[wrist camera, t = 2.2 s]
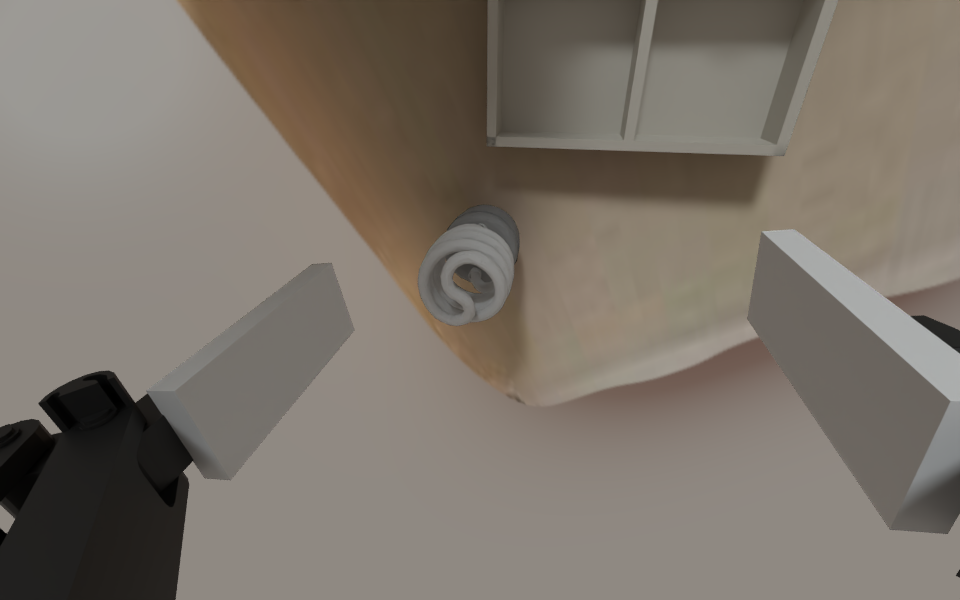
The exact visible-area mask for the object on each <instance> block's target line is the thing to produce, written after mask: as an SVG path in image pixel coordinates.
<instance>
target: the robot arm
mask: <svg viewBox="0 0 960 600" xmlns="http://www.w3.org/2000/svg"><path fill="white" fill-rule="evenodd" d="M747 319H748V321H749V322H750V324H751V325H752V327H753V328H754V330H755V331H756V333H757V334H758V336H759V337H760V339H761V340H762V342H763V343H764V344H765V346H766V347H767V349H768V350H769V352H770V353H771V355H772V356H773V358H774V359H775V361H776V362H777V364H778V365H779V367H780V368H781V369H782V371H783V373H784V374H785V375H786V377H787V378H788V380H789V381H790V383H791V384H792V386H793V387H794V389H795V390H796V392H797V393H798V395H799V396H800V398H801V399H802V401H803V402H804V403H805V405H806V406H807V408H808V409H809V411H810V412H811V414H812V415H813V417H814V418H815V420H816V421H817V423H818V424H819V425H820V427H821V429H822V430H823V432H824V433H825V435H826V436H827V437H828V439H829V440H830V442H831V443H832V445H833V446H834V448H835V449H836V451H837V452H838V454H839V455H840V457H841V458H842V460H843V461H844V463H845V464H846V465H847V467H848V468H849V470H850V471H851V473H852V474H853V476H854V477H855V478H856V480H857V482H858V483H859V485H860V486H861V488H862V489H863V491H864V492H865V493H866V495H867V496H868V498H869V499H870V501H871V502H872V504H873V505H874V507H875V508H876V510H877V511H878V512H879V514H880V516H881V517H882V518H883V520H884V522H885V523H886V525H887V526H888V527H889V529H890V530H904V531H916V532H930V533H943V534H948V532H949V531H950V529H951V527H952V526H953V524H954V522H955V520H956V519H957V517H958V515H959V514H960V331H959V330H958V329H955V328H953V327H950V326H948V325H946V324H943V323H940V322H938V321H936V320H934V319H931V318H929V317H926V316H909V315H908V314H906V313H905V312H904V311H902V310H901V309H899V308H898V307H897V306H896V305H894V304H893V303H892V302H890V301H889V300H888V299H886V298H885V297H884V296H882V295H881V294H880V293H878V292H877V291H876V290H874V289H873V288H872V287H870V286H869V285H868V284H866V283H865V282H864V281H862V280H861V279H860V278H858V277H857V276H856V275H854V274H853V273H852V272H850V271H849V270H848V269H846V268H845V267H844V266H842V265H841V264H840V263H838V262H837V261H836V260H835V259H833V258H832V257H831V256H829V255H828V254H827V253H825V252H824V251H823V250H821V249H820V248H819V247H817V246H816V245H815V244H813V243H812V242H811V241H809V240H808V239H807V238H805V237H804V236H803V235H801V234H800V233H799V232H797V231H796V230H795V229H790V230H776V231H763V232H761V238H760V244H759V250H758V256H757V262H756V268H755V274H754V281H753V287H752V293H751V299H750V305H749V311H748V317H747ZM353 331H354V327H353V324H352V322H351V319H350V316H349V313H348V310H347V307H346V304H345V301H344V298H343V295H342V292H341V290H340V287H339V284H338V281H337V278H336V275H335V272H334V269H333V266H332V264H331V263H323V264H312V265H310V266H309V267H308V268H307V269H305V270H304V271H303V272H301V273H300V274H299V275H297V276H296V277H295V278H293V279H292V280H291V281H289V282H288V283H287V284H285V285H284V286H283V287H282V288H280V289H279V290H278V291H276V292H275V293H274V294H272V295H271V296H270V297H269V298H267V299H266V300H265V301H263V302H262V303H261V304H259V305H258V306H257V307H256V308H254V309H253V310H252V311H250V312H249V313H248V314H246V315H245V316H244V317H242V318H241V319H240V320H238V321H237V322H236V323H235V324H233V325H232V326H230V327H229V328H228V329H227V330H225V331H224V332H223V333H221V334H220V335H219V336H218V337H216V338H215V339H213V340H212V341H211V342H210V343H208V344H207V345H206V346H204V347H203V348H202V349H200V350H199V351H198V352H197V353H195V354H194V355H193V356H191V357H190V358H189V359H187V360H186V361H185V362H183V363H182V364H181V365H180V366H178V367H177V368H176V369H174V370H173V371H172V372H170V373H169V374H168V375H166V376H165V377H164V378H162V379H161V380H160V381H158V382H157V383H156V384H155V385H153V386H152V387H151V388H149V389H148V390H147V393H148V394H146V395H145V396H144V397H143V398H141V399H140V400H139V401H137V402H136V403H135V402H134V401H133V399H132V398H131V396H130V395H129V394H128V392H127V391H126V389H125V388H124V386H123V385H122V383H121V382H120V381H119V379H118V378H117V376H116V375H115V374H114V372H111V371H99V372H95V373H91V374H88V375H85V376H82V377H80V378H77V379H75V380H72V381H70V382H68V383H66V384H65V385H63V386H60V387H59V388H57V389H56V390H54V391H52V392H51V393H49V394H48V395H47V396H45V397H44V398H43V399H42V400H41V401H40V402H39V405H40V406H41V407H42V409H43V410H44V411H45V412H46V413H47V415H48V416H49V417H50V418H51V419H52V420H53V422H54V423H55V424H56V425H57V427H59V429H60V430H61V431H62V433H57V434H53V435H51V434H50V433H49V432H48V431H47V430H46V428H45V427H44V426H43V425H42V424H41V423H40V421H39V420H34V419H30V420H24V421H20V422H17V423H14V424H11V425H10V424H8V425H5V426H2V427H0V505H1V506H2V507H3V508H4V509H6V510H7V511H8V512H9V513H10V514H11V515H12V516H13V517H14V518H15V521H14V523H13V524H12V526H11V528H10V530H9V532H8V534H7V533H5V532H4V531H3V530H2V529H0V600H175V599H176V591H177V582H178V574H179V565H180V557H181V548H182V540H183V532H184V531H183V530H184V523H185V514H186V505H187V498H188V489H189V482H188V478H187V477H186V475H185V474H184V472H183V471H184V470H185V469H186V468H187V467H188V465H190V463H191V462H192V461H193V462H194V463H195V465H196V466H197V468H198V469H199V470H200V472H201V474H202V475H203V477H204V478H207V479H220V480H231V479H232V478H233V477H234V475H235V474H236V473H237V472H238V471H239V469H240V468H241V467H242V466H243V465H244V463H245V462H246V461H247V460H248V458H249V457H250V456H251V455H252V454H253V452H254V451H255V450H256V449H257V448H258V446H259V445H260V444H261V443H262V442H263V440H264V439H265V438H266V437H267V435H268V434H269V433H270V432H271V430H272V429H273V428H274V427H275V426H276V424H277V423H278V422H279V421H280V420H281V419H282V417H283V416H284V415H285V414H286V412H287V411H288V410H289V409H290V407H291V406H292V405H293V404H294V403H295V402H296V400H297V399H298V397H300V395H301V394H302V393H303V392H304V390H305V389H306V388H307V387H308V386H309V384H310V383H311V382H312V381H313V379H315V377H316V376H317V375H318V374H319V372H320V371H321V370H322V369H323V368H324V366H325V365H326V364H327V363H328V362H329V360H330V359H331V358H332V357H333V355H334V354H335V353H336V352H337V351H338V349H339V348H340V347H341V346H342V344H343V343H344V342H345V341H346V340H347V339H348V337H349V336H350V335H351V334H352V333H353ZM956 576H958V577H960V570H959V572H958V573H957V575H956Z"/></svg>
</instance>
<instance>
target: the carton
mask: <svg viewBox="0 0 960 600" xmlns="http://www.w3.org/2000/svg"><path fill="white" fill-rule="evenodd" d="M837 2H838V0H488V32H487V146H495V147H525V148H555V149H586V150H616V151H646V152H676V153H706V154H737V155H767V156H784V155H785V153H786V150H787V147H788V144H789V141H790V138H791V135H792V132H793V129H794V127H795V124H796V121H797V118H798V115H799V112H800V109H801V106H802V103H803V101H804V98H805V95H806V92H807V89H808V86H809V83H810V80H811V77H812V75H813V72H814V69H815V66H816V63H817V60H818V57H819V54H820V51H821V49H822V46H823V43H824V40H825V37H826V34H827V31H828V28H829V26H830V23H831V20H832V17H833V14H834V11H835V8H836V5H837Z"/></svg>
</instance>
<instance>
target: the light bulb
mask: <svg viewBox="0 0 960 600" xmlns="http://www.w3.org/2000/svg"><path fill="white" fill-rule="evenodd" d="M518 251H519V231H518V229H517V226H516V224H515V222H514V220H513V219H512V217H511V216H510V215H508V214H507V213H506V212H505V211H503V210H502V209H500V208H498V207H495V206H491V205H478V206H475V207H472V208H469V209H467V210H466V211H465V212H463V213H462V214H461V215H459V216H458V217H457V218H456V219H455V220H454V222H453V223H452V224H451V225H450V226H449V228H448V229H447V232H445V233H444V234H442V235H441V236H440V237H439V238H438V239H437V240H436V242H435V243H434V244H433V245H432V246H431V247H430V249H429V250H428V252H427V254H426V256H425V258H424V260H423V262H422V264H421V267H420V269H419V275H418V288H419V293H420V296H421V299H422V301H423V303H424V305H425V306H426V308H427V309H428V311H429V312H430V313H431V314H432V315H433V316H434V317H435V318H436V319H438V320H440V321H441V322H443V323H446V324H448V325H452V326H460V325H464V324H468V323H469V322H480V321H484V320H487V319H489V318H491V317H493V316H494V315H495V314H497V313H498V312H499V311H500V310H501V308H502V307H503V305H504V303H505V300H506V298H507V297H508V295H509V293H510V290H511V286H512V282H513V278H514V264H515V263H516V261H517V257H518ZM445 258H446V263H445ZM454 272H455V273H456V274H457V275H458V276H460V277H461V278H463V279H465V280H467V281H469V282H472V284H473V286H474V288H475V289H477V290H478V291H479V292H481V293H472V292H468V291H466V290H464V289H462V288H461V287H459V286H458V285H457V284H456V283H455V282H454V281H453V278H452V277H453V274H454Z"/></svg>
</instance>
